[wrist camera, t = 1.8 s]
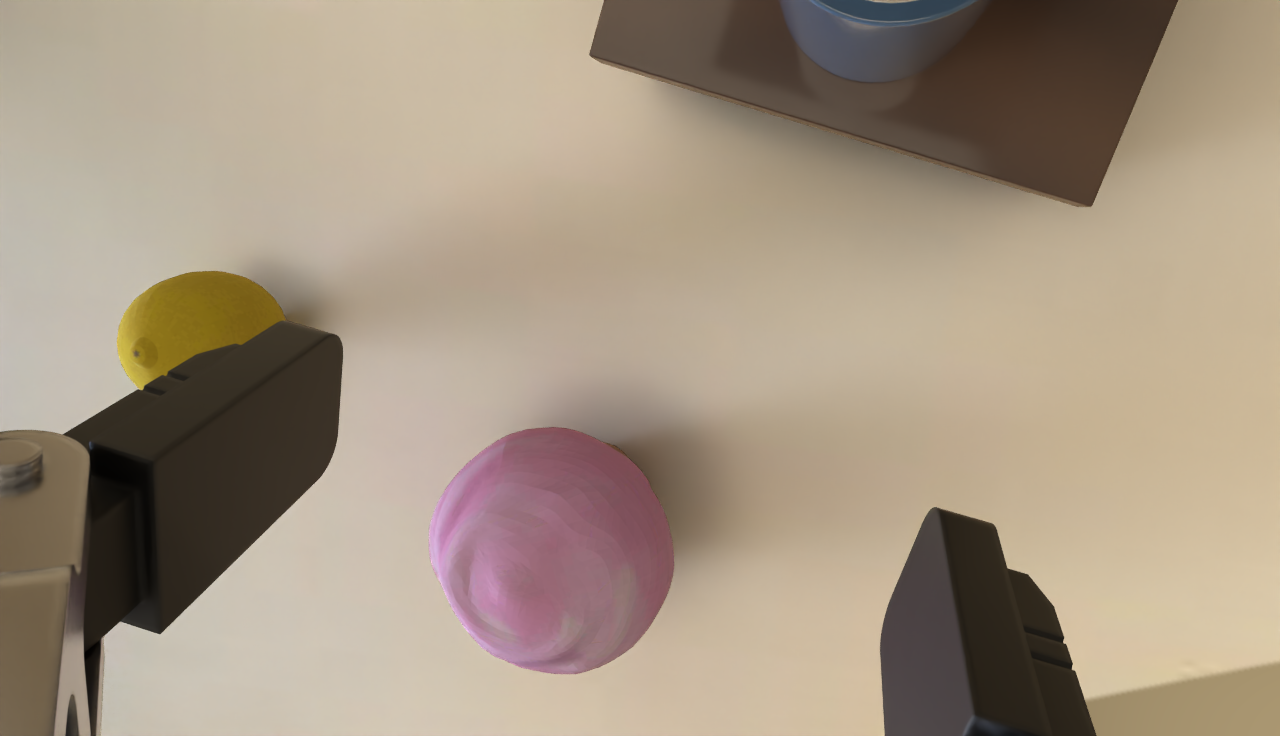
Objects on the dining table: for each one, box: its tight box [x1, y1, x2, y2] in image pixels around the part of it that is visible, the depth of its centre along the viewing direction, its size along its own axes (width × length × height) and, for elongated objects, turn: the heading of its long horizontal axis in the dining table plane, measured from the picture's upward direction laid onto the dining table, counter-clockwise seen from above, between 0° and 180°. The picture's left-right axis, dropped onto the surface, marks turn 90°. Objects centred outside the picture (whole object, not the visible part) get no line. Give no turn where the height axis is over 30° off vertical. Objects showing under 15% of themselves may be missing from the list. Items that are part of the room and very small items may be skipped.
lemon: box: [117, 271, 286, 390], centre depth 37 cm, size 6×6×8 cm
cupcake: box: [429, 427, 674, 674], centre depth 34 cm, size 9×9×10 cm
